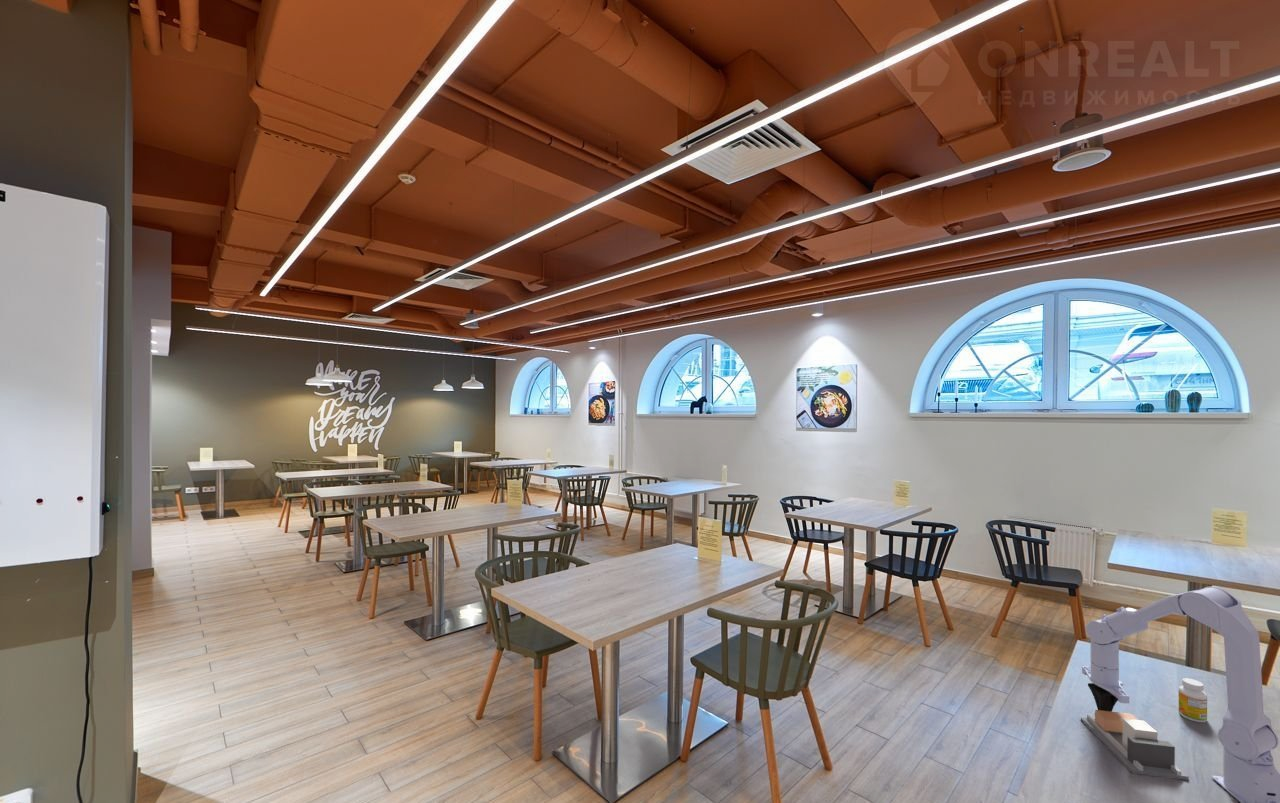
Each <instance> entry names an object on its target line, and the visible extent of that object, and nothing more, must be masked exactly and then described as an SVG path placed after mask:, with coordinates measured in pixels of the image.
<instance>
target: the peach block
mask: <svg viewBox="0 0 1280 803" xmlns="http://www.w3.org/2000/svg"><path fill="white" fill-rule="evenodd" d="M1123 718H1125V719H1134V720H1139V719H1138V718H1137V717H1136V716H1135V715H1134V714H1132V713H1127V712H1116V711H1112V712H1110V711H1101V710H1098V709H1094V719H1095V721H1096V722H1097V723H1098V724H1099V725H1100V726H1101V727H1102V728H1103V729H1104V730H1105V731H1113V732H1121V733H1123Z"/></svg>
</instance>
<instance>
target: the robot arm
mask: <svg viewBox="0 0 1280 803" xmlns="http://www.w3.org/2000/svg"><path fill="white" fill-rule="evenodd" d="M1172 614H1177V615H1180V616H1189V617H1190V618H1192V619H1194V620H1195V621H1197V622H1200V623H1201V624H1203V625H1205V626H1207V627H1209V628H1210V629H1212V630H1214V631H1215V632H1217V633H1218V634H1219V635H1220V636H1222V638H1223V644H1224V645H1223V647H1224V660H1225V661H1224V663H1225V679H1226V681H1225V682H1226V695H1227V698H1226V699H1227V708H1226V711H1225V713H1224V715H1223V718H1222V726H1221V727H1220V728H1219V730H1218V733H1217V737H1218V740H1219V742H1220V743H1221V745H1222V747H1223V759H1222V760H1223V763H1222V764H1223V766H1222V767H1223V770H1222V771H1223V772H1222V776H1221V775H1220V776H1219V775H1211V778H1212V779H1213V780H1214V781H1215V782H1216V783H1218V784H1219V785H1220V786H1221V787H1222V788H1223V789H1225V790H1226V791H1227V792H1228V793H1229V794H1231V795H1232V796H1233V797H1234V798H1235V799H1236V800H1237V801H1238V802H1240V803H1280V772H1279V771H1278V770H1277V769H1276V766H1275V764H1274V757H1273V755H1272V752H1271V751H1272V750H1274V749H1276V748H1277V747H1278V745H1279V742H1280V741H1279V737H1278V735H1277V733H1276V731H1275V730H1274V729H1273V726H1272V720H1271V718H1270V717H1268V715H1266V714H1265V711H1264V710H1265V708H1264V697H1263V696H1264V695H1263V694H1264V693H1263V678H1262V675H1263V674H1262V662H1261V648H1260V647H1261V644H1260V634H1259V631H1258V629H1257V628H1256V626H1255V625H1254V624H1253V623H1252V620H1251V619H1250V618H1249V616H1248V614H1246V612H1245V611H1244V609H1243V605H1242V602H1241V600H1240V599H1239V598H1237V597H1235V596H1234V595H1233V594H1231V593H1230V592H1228V590H1225V589H1224V588H1221V587H1218V586H1206V587H1202V588H1201V589H1195V590H1190V591H1186V592H1185V591H1184V592H1181V593H1176V594H1173V595H1172V594H1171V595H1169V596H1168V595H1167V597H1164V598H1161V599H1159V600H1157V601H1155V602H1153V603H1150V604H1148V605H1146V606H1144V607H1141V608H1139V609H1135V608H1132V607H1124V606H1121V607H1118V608H1116V612H1113V613H1111V614H1109V615H1107V614H1103V615H1101V616H1100V619H1096V620H1090V621H1089V622H1088V623H1087V624H1086V625H1085V633H1086V635H1087V636H1088V638H1089V639H1090V666H1086V665H1085V666H1083V665H1082V666H1081V673H1082V674H1083V675H1084V676H1087V678H1088V680H1090V681H1089V683H1087V686H1088V688H1089V689H1090V692H1091V694H1092V696H1093V698H1094V702H1095V706H1096V708H1097V709H1096V710H1101V711H1110V712H1113V709H1114V707H1115V705H1116V703H1117V702H1119V703H1120V704H1130V696H1129V695H1128V694H1127V693H1126V691H1125V690H1124V689H1123V687H1122V686H1124V682H1122V681H1121V680H1119V679H1120V668H1119V667H1120V663H1119V662H1120V652H1119V651H1120V642H1121V641H1122V640H1123V639H1124V638H1128V637H1131V636H1132V635H1135V634H1138V633H1141V632H1144V631H1147V630H1148V629H1149V622H1151V621H1152V622H1153V621H1155V620H1157V619H1160V618H1163V617H1166V616H1170V615H1172ZM1090 682H1091V683H1090Z"/></svg>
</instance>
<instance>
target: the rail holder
mask: <svg viewBox="0 0 1280 803" xmlns="http://www.w3.org/2000/svg"><path fill="white" fill-rule="evenodd" d="M1080 721H1081V723H1083V724H1084V725H1085V726H1086V727H1087V728H1088V729H1089V730H1090V731H1091V732H1092V733H1093V734H1094V736H1095V737H1097V739H1099V741H1100V742H1101V743H1102V744H1103V745H1104V746H1105V747H1106V748H1107V749H1108V750H1109V752H1111V753H1112V754H1113V755H1114V756H1115V757H1116V758H1117V759H1118V760H1119V761H1120V762H1121V764H1123V766H1124V767H1126V768H1127V769H1128V770H1129V771H1130V773H1132V774H1137V775H1144V776H1145V775H1146V776H1153V777H1161V778H1170V779H1177V780H1178V779H1179V780H1183V781H1184V780H1185V781H1190V779H1189V778H1190V776H1189V775H1187V773H1185V772H1184V771H1183V770H1182V769H1181V768H1180V767H1179V766H1177V765H1176V759H1175V758H1176V756H1175V755H1176V748H1175V746H1174V745H1173V744H1172V743H1171V742H1170V741H1167V740H1159V739H1157V740H1152V739H1143V738H1134V737H1128V740H1127V750H1126V749H1125V748H1124V747H1123V746H1122V745H1123V733H1121V732H1113V731H1105V730H1104V729H1103V728H1102V727H1101V726H1100V725H1099V724H1098V723H1097V722H1096V721H1095V717H1093V716H1092V715H1091V714H1086V717H1080Z"/></svg>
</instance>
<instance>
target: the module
mask: <svg viewBox="0 0 1280 803" xmlns="http://www.w3.org/2000/svg"><path fill="white" fill-rule="evenodd" d="M1128 737H1134V738H1143V739H1152V740H1158V731H1157V730H1156V729H1154V728H1153V727H1152V726H1151V725H1150V724H1149V723H1147V722H1146V720H1142V719H1141V720H1140V719H1138V720H1134V719H1125V718H1123V745H1122V746H1123V747H1124V748H1125V749H1126V750H1127V740H1128Z"/></svg>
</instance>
